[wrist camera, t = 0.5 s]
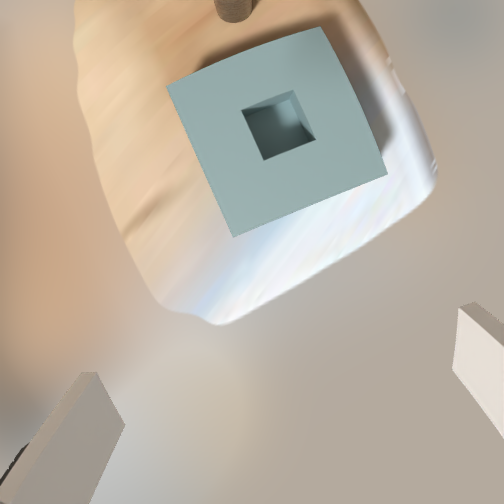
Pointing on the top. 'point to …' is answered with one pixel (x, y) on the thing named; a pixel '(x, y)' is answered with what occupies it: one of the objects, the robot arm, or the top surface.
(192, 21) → the top surface
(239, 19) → the pin
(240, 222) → the bore block
